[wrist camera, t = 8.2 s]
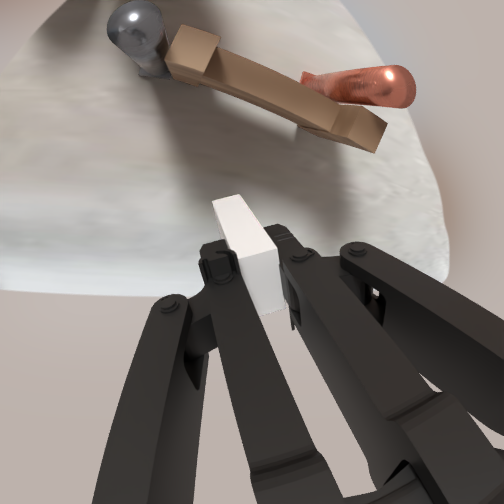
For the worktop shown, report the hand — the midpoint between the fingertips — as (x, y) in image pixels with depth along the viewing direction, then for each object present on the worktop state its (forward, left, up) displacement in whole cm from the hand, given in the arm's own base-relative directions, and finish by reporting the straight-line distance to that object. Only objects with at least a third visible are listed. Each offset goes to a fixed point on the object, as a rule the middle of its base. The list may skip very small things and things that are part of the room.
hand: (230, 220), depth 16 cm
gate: (+1, +8, -12) cm, 14 cm away
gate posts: (0, +10, -12) cm, 15 cm away
